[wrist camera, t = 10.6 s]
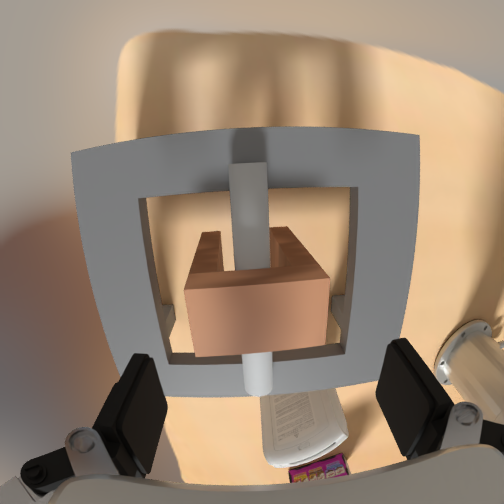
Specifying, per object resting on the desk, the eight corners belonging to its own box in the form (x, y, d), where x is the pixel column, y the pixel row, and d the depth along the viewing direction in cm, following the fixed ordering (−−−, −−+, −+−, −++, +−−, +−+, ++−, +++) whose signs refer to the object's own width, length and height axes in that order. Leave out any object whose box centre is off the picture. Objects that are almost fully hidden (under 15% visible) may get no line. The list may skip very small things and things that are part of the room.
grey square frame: (353, 140, 27) (436, 134, 14) (346, 309, 33) (397, 393, 19) (135, 152, 27) (53, 153, 13) (159, 320, 33) (120, 409, 19)
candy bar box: (296, 478, 46) (305, 543, 30) (287, 470, 44) (296, 540, 29) (348, 461, 45) (367, 526, 29) (343, 451, 43) (363, 522, 28)
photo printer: (271, 409, 38) (279, 479, 26) (254, 393, 37) (258, 467, 25) (334, 375, 37) (360, 445, 25) (319, 357, 35) (345, 430, 24)
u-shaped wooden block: (287, 226, 24) (330, 278, 14) (287, 271, 26) (325, 344, 15) (202, 232, 24) (183, 289, 14) (207, 277, 25) (195, 357, 15)
